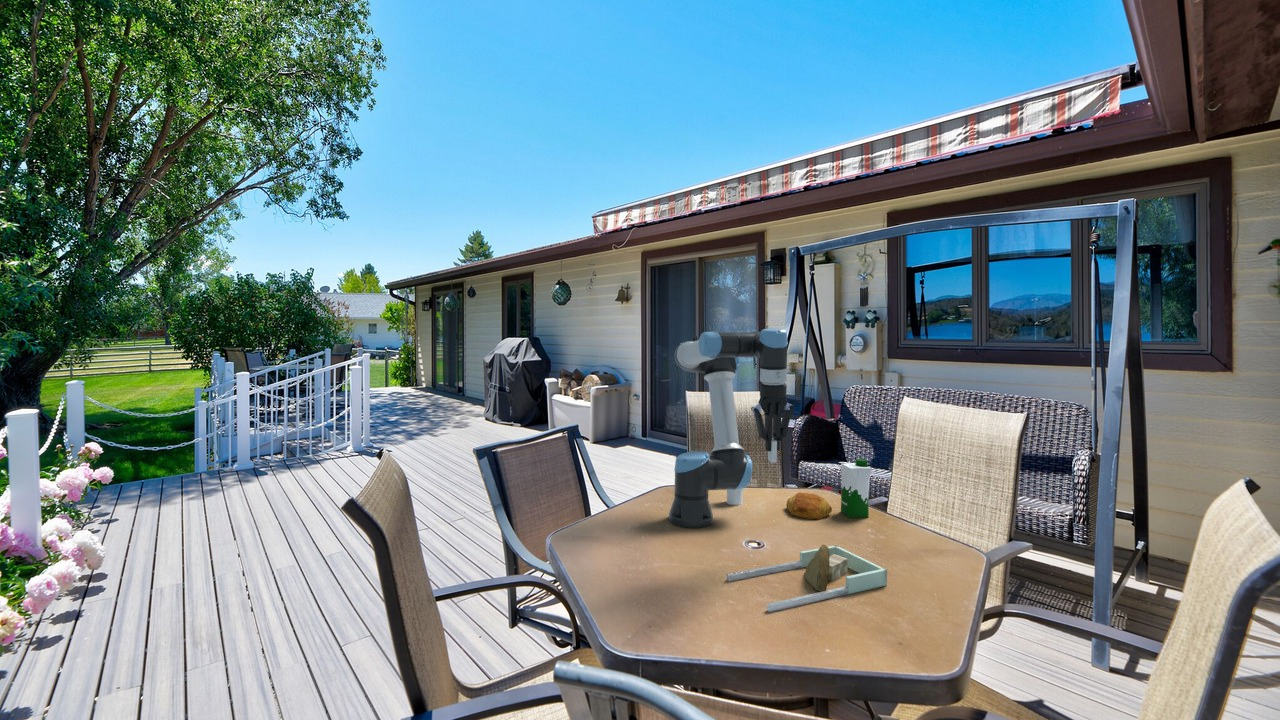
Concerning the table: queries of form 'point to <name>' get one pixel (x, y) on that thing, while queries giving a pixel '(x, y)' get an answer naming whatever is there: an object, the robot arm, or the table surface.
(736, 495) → the drinking glass
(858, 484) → the milk carton
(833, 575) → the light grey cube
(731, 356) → the robot arm
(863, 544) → the table surface
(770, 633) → the table surface
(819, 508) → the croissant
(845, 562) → the beige cube
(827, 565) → the rock
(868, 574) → the tray pen
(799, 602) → the slot rails
